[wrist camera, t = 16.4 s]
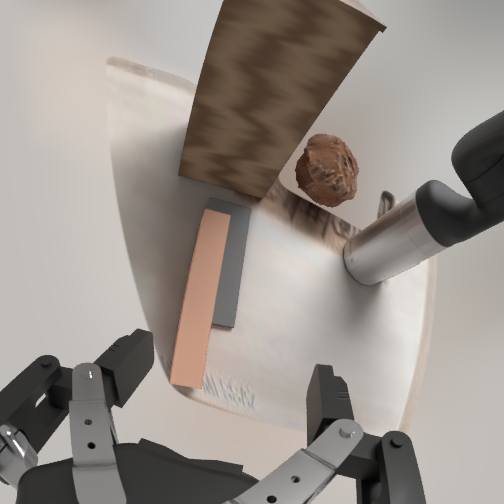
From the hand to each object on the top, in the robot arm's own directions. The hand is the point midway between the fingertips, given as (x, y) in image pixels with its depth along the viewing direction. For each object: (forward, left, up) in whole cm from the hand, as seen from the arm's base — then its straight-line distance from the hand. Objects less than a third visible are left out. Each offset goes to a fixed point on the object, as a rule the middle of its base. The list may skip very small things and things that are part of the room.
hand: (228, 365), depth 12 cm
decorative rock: (-17, -34, -22) cm, 44 cm away
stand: (0, -34, -22) cm, 40 cm away
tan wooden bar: (0, -8, -21) cm, 23 cm away
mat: (-2, -15, -22) cm, 27 cm away
